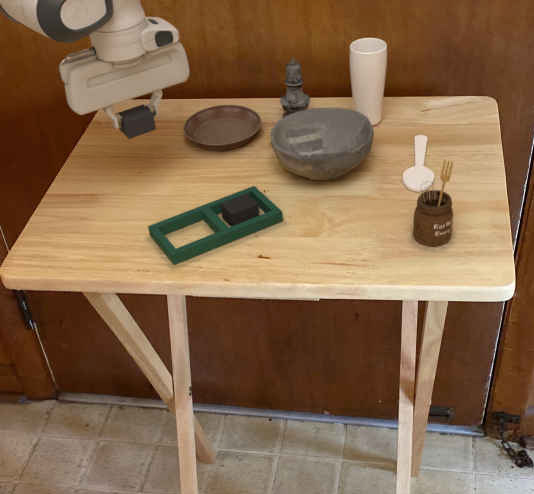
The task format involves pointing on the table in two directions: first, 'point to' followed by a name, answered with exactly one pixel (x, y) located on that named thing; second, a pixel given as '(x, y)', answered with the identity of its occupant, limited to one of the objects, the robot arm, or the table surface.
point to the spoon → (418, 168)
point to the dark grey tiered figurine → (294, 90)
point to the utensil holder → (434, 213)
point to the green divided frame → (213, 226)
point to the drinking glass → (368, 76)
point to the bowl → (322, 141)
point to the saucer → (222, 126)
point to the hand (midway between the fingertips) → (136, 120)
